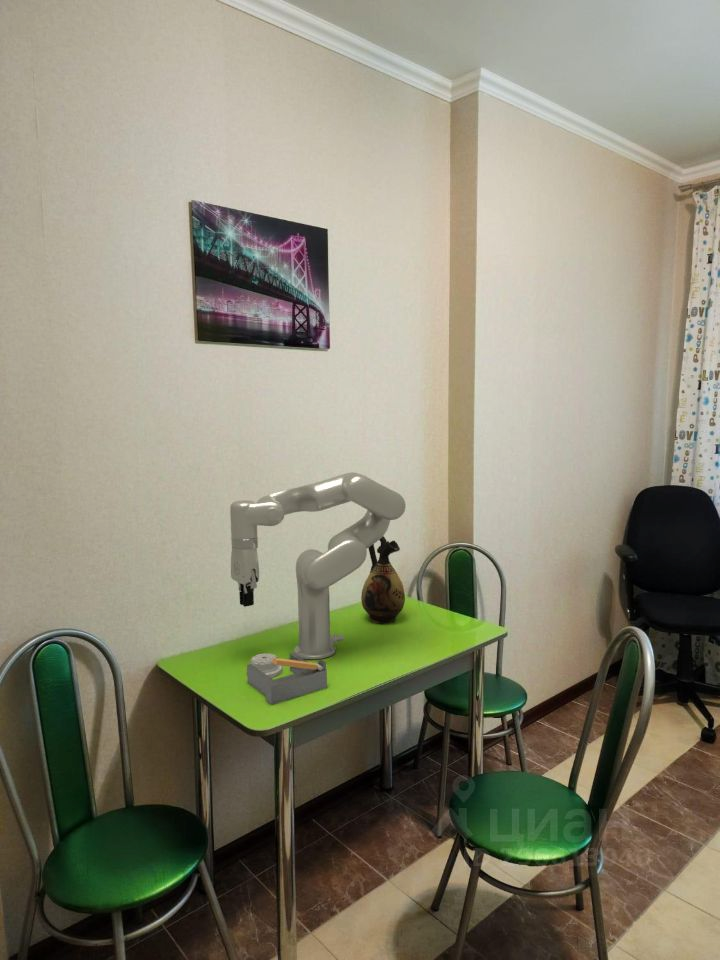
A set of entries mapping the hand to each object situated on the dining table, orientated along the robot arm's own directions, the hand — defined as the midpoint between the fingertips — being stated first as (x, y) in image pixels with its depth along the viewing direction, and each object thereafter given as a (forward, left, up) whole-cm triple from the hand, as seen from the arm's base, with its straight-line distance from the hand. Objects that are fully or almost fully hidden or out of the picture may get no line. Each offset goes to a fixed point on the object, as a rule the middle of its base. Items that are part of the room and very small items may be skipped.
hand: (246, 604), depth 188 cm
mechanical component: (0, +10, -18) cm, 20 cm away
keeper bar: (0, +29, -10) cm, 30 cm away
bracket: (0, +22, -17) cm, 28 cm away
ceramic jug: (-54, -6, -17) cm, 57 cm away
